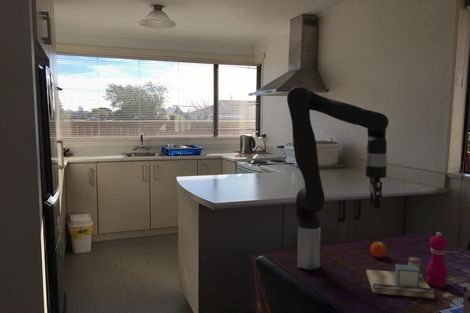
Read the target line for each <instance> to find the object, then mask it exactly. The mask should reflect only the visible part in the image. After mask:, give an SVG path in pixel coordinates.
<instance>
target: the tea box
mask: <svg viewBox="0 0 470 313" xmlns="http://www.w3.org/2000/svg"><path fill="white" fill-rule="evenodd" d="M394 272H395V282H394V283H395V285H399V286H411V287H419V278H420V274H421V273H420V272H421V269H420V270H419V269H418V268H417V266H412V265H409V264H395V266H394Z"/></svg>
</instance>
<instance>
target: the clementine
mask: <svg viewBox="0 0 470 313" xmlns="http://www.w3.org/2000/svg"><path fill="white" fill-rule="evenodd" d="M370 252H371V254H372V256H374V257H375V258H384V256H385V257H386V255H387V252H388V248H387V246H386V245H385V244H384V243H383V242H381V241H375V242H373V243H372V244H371V246H370Z"/></svg>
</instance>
